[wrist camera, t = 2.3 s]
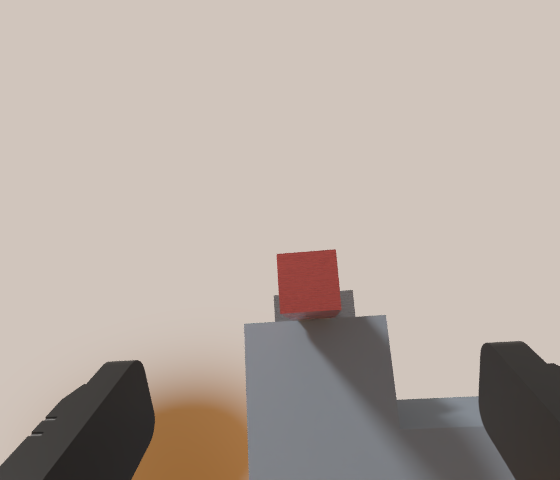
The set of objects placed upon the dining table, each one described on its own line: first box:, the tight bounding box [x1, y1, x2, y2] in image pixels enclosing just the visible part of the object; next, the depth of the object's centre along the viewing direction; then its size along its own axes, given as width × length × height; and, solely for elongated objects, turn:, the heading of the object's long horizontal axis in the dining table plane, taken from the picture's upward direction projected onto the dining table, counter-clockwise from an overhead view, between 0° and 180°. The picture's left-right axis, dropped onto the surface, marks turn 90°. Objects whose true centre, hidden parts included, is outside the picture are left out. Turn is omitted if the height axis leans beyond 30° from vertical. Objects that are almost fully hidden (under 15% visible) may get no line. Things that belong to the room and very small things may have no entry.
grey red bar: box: [274, 250, 355, 322], centre depth 30 cm, size 22×8×3 cm, turn 174°
